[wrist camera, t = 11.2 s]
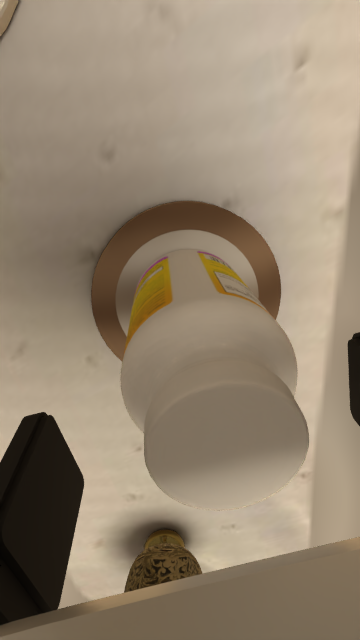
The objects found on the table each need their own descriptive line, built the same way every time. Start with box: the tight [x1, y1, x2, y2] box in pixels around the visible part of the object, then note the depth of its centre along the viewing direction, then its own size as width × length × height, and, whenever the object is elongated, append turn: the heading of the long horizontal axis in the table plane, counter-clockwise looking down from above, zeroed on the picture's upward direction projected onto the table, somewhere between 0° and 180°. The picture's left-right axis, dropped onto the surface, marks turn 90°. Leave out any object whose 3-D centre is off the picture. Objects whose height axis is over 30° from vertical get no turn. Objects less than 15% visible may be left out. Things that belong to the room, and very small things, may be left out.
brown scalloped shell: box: [124, 529, 202, 593], centre depth 28 cm, size 8×7×8 cm
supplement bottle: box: [121, 249, 309, 511], centre depth 15 cm, size 7×7×13 cm
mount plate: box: [91, 201, 281, 361], centre depth 22 cm, size 12×12×2 cm
